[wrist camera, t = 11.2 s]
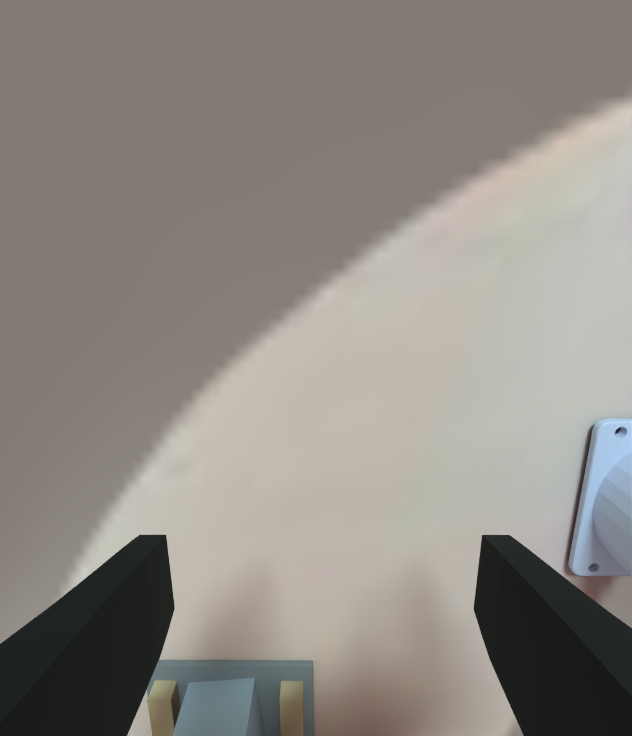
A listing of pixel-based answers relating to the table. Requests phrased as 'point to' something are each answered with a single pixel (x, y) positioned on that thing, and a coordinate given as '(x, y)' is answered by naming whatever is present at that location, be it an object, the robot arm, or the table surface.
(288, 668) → the guide mat
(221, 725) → the bar
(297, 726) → the guide rails
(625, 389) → the table surface
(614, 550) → the robot arm
